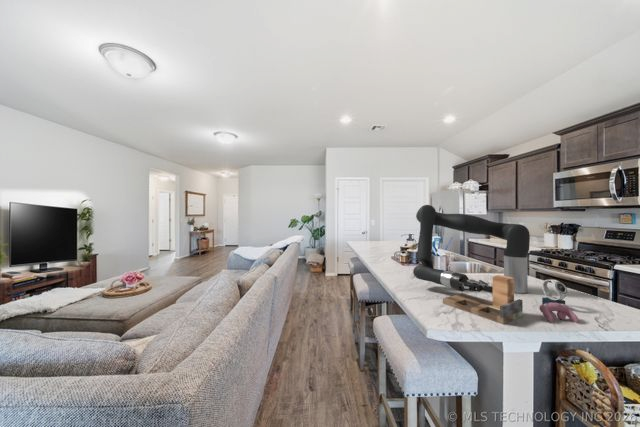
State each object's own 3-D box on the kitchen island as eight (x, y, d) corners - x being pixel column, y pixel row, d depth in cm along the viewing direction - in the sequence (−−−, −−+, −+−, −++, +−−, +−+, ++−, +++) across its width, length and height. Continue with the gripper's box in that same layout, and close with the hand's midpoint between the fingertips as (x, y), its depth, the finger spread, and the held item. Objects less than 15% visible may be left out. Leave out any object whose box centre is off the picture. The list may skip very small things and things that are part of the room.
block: (499, 304, 97) (499, 275, 97) (514, 309, 93) (513, 277, 93) (492, 307, 95) (492, 276, 95) (507, 311, 91) (507, 279, 91)
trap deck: (462, 297, 112) (462, 284, 112) (522, 315, 92) (522, 300, 92) (442, 303, 105) (442, 289, 105) (503, 324, 85) (503, 307, 85)
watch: (558, 310, 96) (558, 283, 96) (538, 303, 104) (537, 277, 104) (571, 310, 97) (570, 282, 97) (549, 302, 105) (549, 277, 105)
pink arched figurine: (570, 323, 89) (562, 303, 92) (581, 323, 85) (572, 301, 88) (541, 322, 89) (534, 302, 92) (551, 322, 85) (543, 301, 88)
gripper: (444, 274, 108) (486, 283, 93) (462, 270, 115) (504, 279, 99) (445, 290, 108) (487, 303, 93) (462, 286, 115) (504, 297, 99)
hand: (496, 290), depth 96 cm, fingers closed
